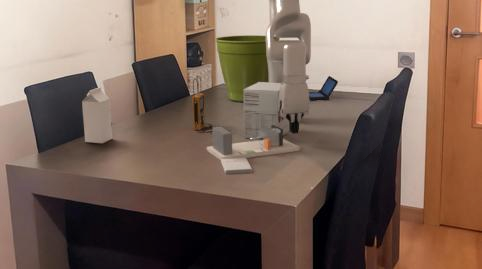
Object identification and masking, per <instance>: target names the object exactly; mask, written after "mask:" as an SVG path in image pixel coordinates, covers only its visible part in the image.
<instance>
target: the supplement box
mask: <svg viewBox="0 0 482 269" xmlns="http://www.w3.org/2000/svg"><path fill="white" fill-rule="evenodd" d="M281 84H283V83H268V82H258V83H256V84H253V85H251V86H249V87H247V88H245V89H244V90H243V92H244V102H243V138H244V139H250V138H256V137H259V130H264V129H271V125H275V126H277V127H279V128H281V129H283V136H285V135H286V134H287V133H288V132H290V130H289V121H288V120H287V119H286V118H283V117H280V116H279V115H280V111H279V110H278V100H279V91H280V86H281Z"/></svg>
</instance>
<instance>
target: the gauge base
mask: <svg viewBox="0 0 482 269" xmlns="http://www.w3.org/2000/svg"><path fill="white" fill-rule="evenodd" d="M212 127H213V128H211V132H212V145H211V146H206V151H207V152H208V153H210V154H211V155H212V156H214V157H215V158H217V159H218V160H220V161H221V159H232V158H246V159H248V158H253V157H261V156H270V155H276V154H277V155H278V154H287V153H291V152H293V153H294V152H299V151H300V149H301V148H300V146H298V145H297V144H294V143H292V142H290V141H288V140H286V139H285V138H283V145H282V146H280V145H279V146H273V147H272V148H271V149H266V148H264V146H263V145H262V144H260V143H259V141H253V142H250V141H244V142H235V143H233V133H232V132H230V131H229V130H228V129H226V128H224V127H222V126H212Z"/></svg>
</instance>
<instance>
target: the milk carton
mask: <svg viewBox="0 0 482 269" xmlns="http://www.w3.org/2000/svg"><path fill="white" fill-rule="evenodd" d="M110 99H111V98H110V97H109V96H107V95H106V93H105V92H104V91H102V89H101V86H100V87H96V88H94V89H91V90H89V91H88V92H87V94H86V97H85V98H84V99H83V100H82V101H81V103H82V104H81V105H82V118H83V129H84V130H83V131H84V143H92V144H94V143H95V144H104V143H107V142H108V141H110V140H112V139H113V129H112V128H113V126H112V115H111V113H112V112H111V100H110Z"/></svg>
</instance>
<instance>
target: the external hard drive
mask: <svg viewBox="0 0 482 269" xmlns="http://www.w3.org/2000/svg"><path fill="white" fill-rule="evenodd" d="M220 163H221V165H222V169H223V171H224V174H226V175H227V174H243V173H244V174H246V173H253V168H252V166H251V164H250V163H249V160H248V158H232V159H221V160H220Z"/></svg>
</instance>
